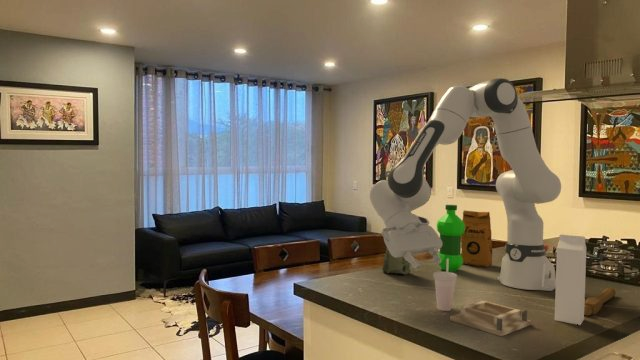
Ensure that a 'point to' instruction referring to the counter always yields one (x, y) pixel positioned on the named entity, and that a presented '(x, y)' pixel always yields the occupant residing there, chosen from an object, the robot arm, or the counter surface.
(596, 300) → the tap handle
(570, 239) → the milk
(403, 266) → the pouch
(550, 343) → the counter surface
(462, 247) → the coffee package
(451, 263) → the plastic bottle
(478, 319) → the holder
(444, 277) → the smoothie
